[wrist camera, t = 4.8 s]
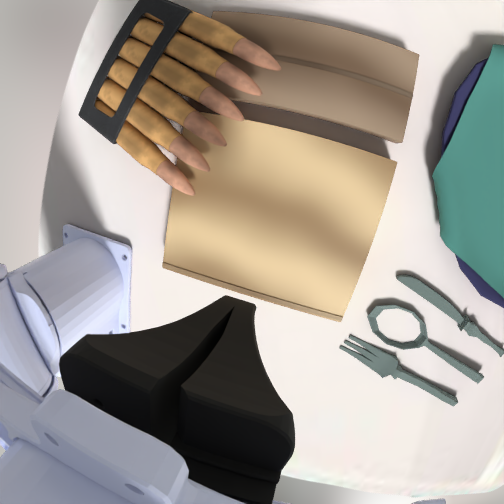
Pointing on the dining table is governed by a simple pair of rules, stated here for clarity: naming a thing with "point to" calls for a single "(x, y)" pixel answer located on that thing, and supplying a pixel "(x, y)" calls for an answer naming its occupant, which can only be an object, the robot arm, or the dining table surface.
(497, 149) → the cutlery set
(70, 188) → the dining table surface
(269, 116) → the dining table surface
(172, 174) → the ammunition clip
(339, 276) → the plank
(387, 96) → the floor row
